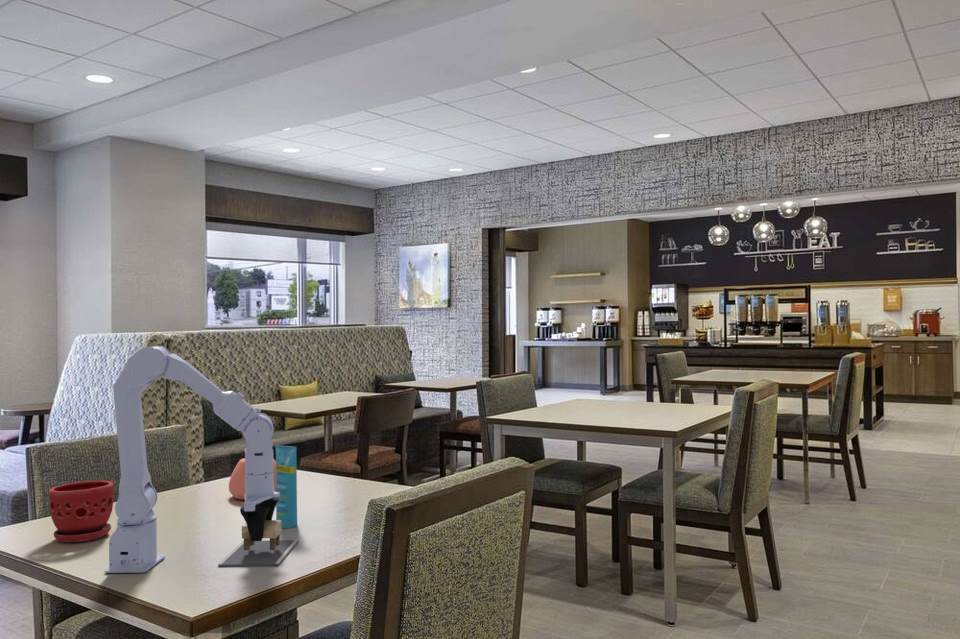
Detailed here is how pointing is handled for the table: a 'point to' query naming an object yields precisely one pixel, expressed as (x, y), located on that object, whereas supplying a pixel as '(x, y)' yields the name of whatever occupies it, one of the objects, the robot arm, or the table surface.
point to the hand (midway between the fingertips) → (260, 537)
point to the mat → (258, 554)
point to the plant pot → (81, 510)
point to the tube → (286, 485)
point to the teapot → (243, 479)
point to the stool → (264, 534)
